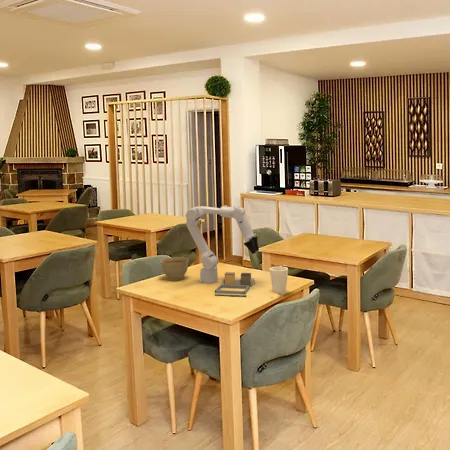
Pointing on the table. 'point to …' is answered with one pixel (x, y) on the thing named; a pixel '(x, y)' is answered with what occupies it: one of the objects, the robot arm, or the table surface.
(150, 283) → the table surface
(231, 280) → the fuse
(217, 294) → the parts tray
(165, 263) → the planter bowl
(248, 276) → the block
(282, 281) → the foam cup
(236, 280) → the block
